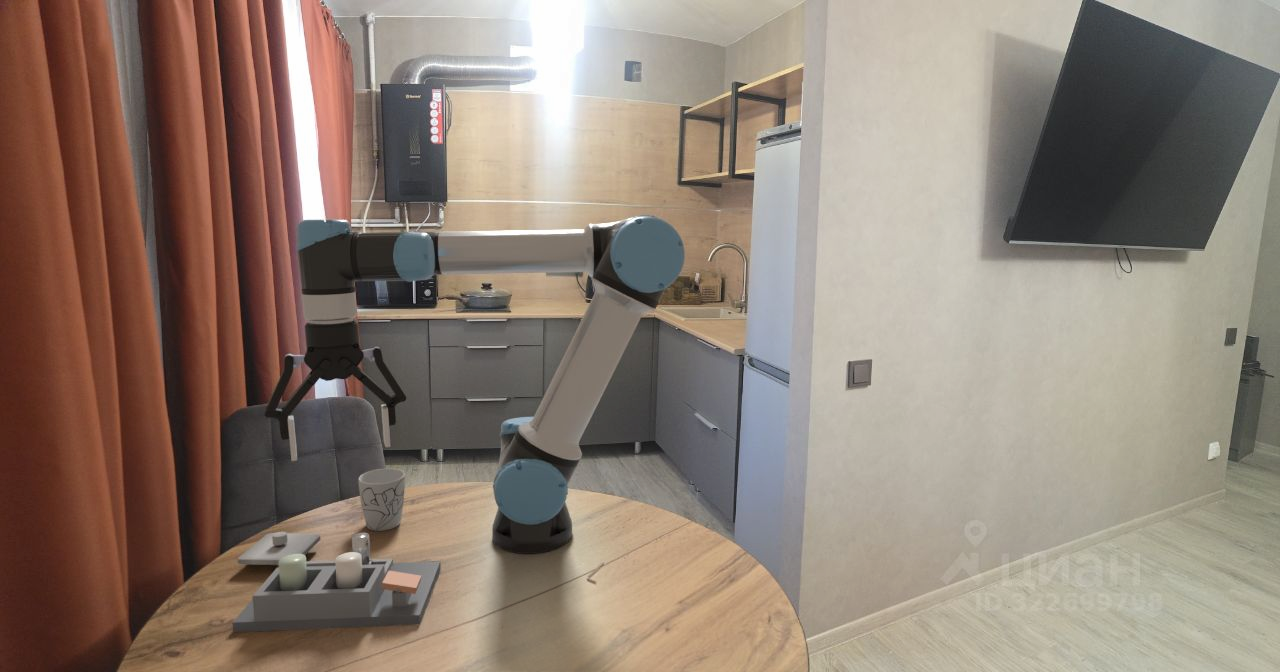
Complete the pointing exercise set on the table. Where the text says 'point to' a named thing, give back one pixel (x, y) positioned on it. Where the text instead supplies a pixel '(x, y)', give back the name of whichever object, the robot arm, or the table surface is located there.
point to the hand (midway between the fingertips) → (342, 451)
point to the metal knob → (362, 547)
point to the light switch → (278, 548)
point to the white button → (349, 570)
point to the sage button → (292, 572)
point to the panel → (339, 599)
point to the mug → (382, 498)
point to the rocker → (401, 582)
